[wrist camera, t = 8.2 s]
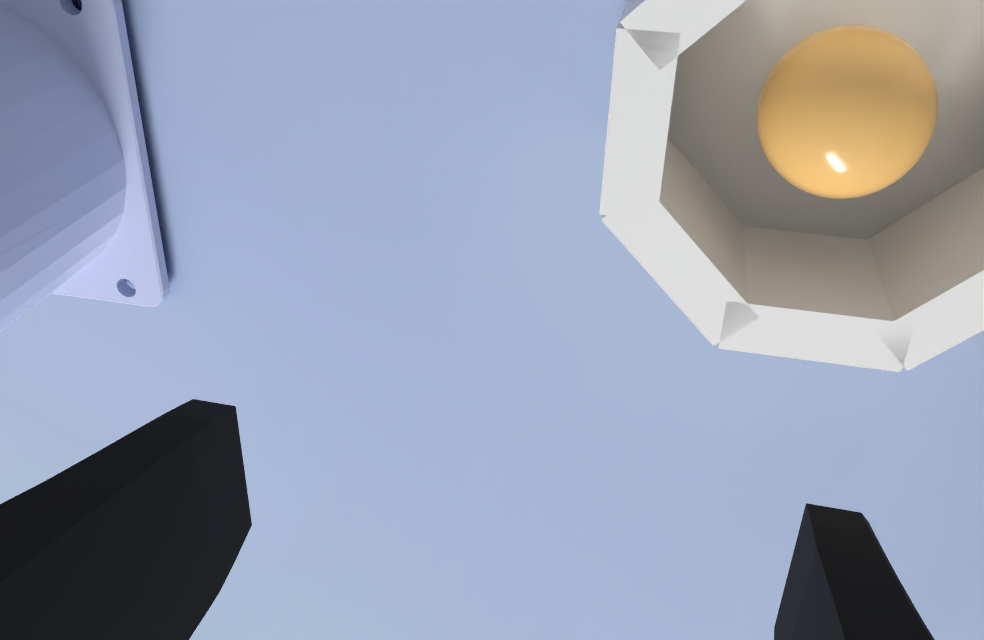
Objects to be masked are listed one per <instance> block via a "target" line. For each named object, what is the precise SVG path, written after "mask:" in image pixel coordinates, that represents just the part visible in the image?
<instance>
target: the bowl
mask: <svg viewBox="0 0 984 640" xmlns="http://www.w3.org/2000/svg"><path fill="white" fill-rule="evenodd" d="M600 215H602V219H601V220H602V221H603V222H604V223H605V225H606V226H607V227H608V228H609V229H610V230H611V231H612V232H613V234H614V235H615V236H616V237H617V238H618V239H619V240H620V241H621V243H622V244H623V245H624V246H625V247H626V248H627V249H628V250H629V252H630V253H631V254H632V255H633V256H634V257H635V258H636V260H637V261H638V262H639V263H640V264H641V265H642V266H643V267H644V269H645V270H646V271H647V272H648V273H649V274H650V275H651V276H652V278H653V279H654V280H655V281H656V282H657V283H658V284H659V285H660V287H661V288H662V289H663V290H664V291H665V292H666V293H667V294H668V296H669V297H670V298H671V299H672V300H673V301H674V302H675V303H676V305H677V306H678V307H679V308H680V309H681V310H682V311H683V312H684V314H685V315H686V316H687V317H688V318H689V319H690V320H691V321H692V323H693V324H694V325H695V326H696V327H697V328H698V329H699V330H700V332H701V333H702V334H703V335H704V336H705V337H706V338H707V339H708V341H709V342H710V343H711V344H712V345H713V346H714V345H716V344H717V343H718V349H726V350H734V351H741V352H749V353H757V354H764V355H772V356H780V357H788V358H795V359H803V360H811V361H818V362H826V363H834V364H842V365H849V366H857V367H865V368H872V369H880V370H888V371H895V372H901V371H902V367H903V366H904V368H905V369H906V370H907V371H908V370H910V369H912V368H914V367H916V366H918V365H920V364H921V363H923V362H925V361H927V360H929V359H931V358H933V357H934V356H936V355H938V354H940V353H942V352H944V351H946V350H948V349H949V348H951V347H953V346H955V345H957V344H959V343H961V342H962V341H964V340H966V339H968V338H970V337H972V336H974V335H975V334H977V333H979V332H981V331H983V330H984V0H628V2H627V4H626V7H625V9H624V12H623V14H622V16H621V19H620V21H619V24H618V26H617V29H616V40H615V51H614V62H613V73H612V83H611V94H610V105H609V116H608V127H607V138H606V149H605V159H604V170H603V181H602V192H601V203H600Z"/></svg>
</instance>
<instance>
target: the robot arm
mask: <svg viewBox="0 0 984 640" xmlns="http://www.w3.org/2000/svg"><path fill="white" fill-rule="evenodd" d="M81 2H82V11H80V10H78V9H77V8H76V7H75V6H74V5H73V3H72V1H71V0H0V332H1V331H2V330H4V329H5V328H6V327H8V326H9V325H10V324H11V323H13V322H14V321H15V320H17V319H18V318H19V317H21V316H22V315H23V314H24V313H26V312H27V311H28V310H30V309H31V308H32V307H34V306H35V305H36V304H38V303H39V302H40V301H41V300H43V299H44V298H45V297H47V296H48V295H49V294H59V295H66V296H73V297H81V298H88V299H95V300H103V301H110V302H117V303H125V304H132V305H139V306H147V307H152V306H157V305H158V304H160V303H161V302H162V301H163V300H164V299H166V297H167V296H168V294H169V281H168V275H167V269H166V263H165V257H164V251H163V245H162V240H161V234H160V228H159V222H158V216H157V210H156V204H155V198H154V192H153V186H152V180H151V174H150V168H149V162H148V156H147V150H146V144H145V138H144V132H143V126H142V120H141V114H140V108H139V102H138V96H137V90H136V84H135V78H134V72H133V66H132V60H131V54H130V48H129V42H128V36H127V30H126V24H125V18H124V12H123V6H122V2H121V0H81ZM125 279H127V280H129V281H131V282H132V283H133V284H134V286H135V288H136V290H135V289H132V288H130V287H129V286H128V285H127V283H126V281H125ZM251 525H252V523H251V516H250V508H249V501H248V494H247V487H246V479H245V472H244V465H243V457H242V450H241V443H240V436H239V428H238V421H237V414H236V407H235V406H230V405H224V404H219V403H213V402H207V401H201V400H195V399H193V400H191V401H189V402H187V403H185V404H182V405H180V406H178V407H177V408H175V409H173V410H171V411H169V412H167V413H165V414H163V415H162V416H160V417H158V418H156V419H154V420H153V421H151V422H149V423H147V424H146V425H144V426H142V427H140V428H138V429H137V430H135V431H133V432H131V433H130V434H128V435H126V436H124V437H123V438H121V439H119V440H117V441H116V442H114V443H112V444H110V445H109V446H107V447H105V448H103V449H102V450H100V451H98V452H96V453H95V454H93V455H91V456H89V457H87V458H86V459H84V460H82V461H80V462H78V463H77V464H75V465H73V466H71V467H70V468H68V469H66V470H64V471H62V472H61V473H59V474H57V475H55V476H54V477H52V478H50V479H48V480H46V481H44V482H43V483H41V484H39V485H37V486H35V487H33V488H31V489H29V490H27V491H25V492H23V493H21V494H19V495H17V496H15V497H14V498H12V499H10V500H8V501H6V502H4V503H2V504H0V640H189V639H190V637H191V636H192V634H193V632H194V631H195V629H196V628H197V626H198V625H199V623H200V622H201V620H202V619H203V617H204V616H205V614H206V612H207V611H208V609H209V608H210V606H211V605H212V603H213V601H214V600H215V598H216V597H217V595H218V594H219V592H220V590H221V588H222V586H223V584H224V582H225V580H226V578H227V576H228V574H229V572H230V570H231V568H232V566H233V564H234V562H235V560H236V558H237V556H238V554H239V551H240V549H241V547H242V545H243V543H244V541H245V538H246V536H247V534H248V532H249V530H250V528H251ZM774 640H934V638H933V636H932V635H931V633H930V632H929V630H928V628H927V627H926V625H925V623H924V622H923V620H922V618H921V617H920V615H919V613H918V612H917V610H916V608H915V607H914V605H913V603H912V601H911V600H910V598H909V596H908V594H907V593H906V591H905V589H904V587H903V586H902V584H901V582H900V580H899V579H898V577H897V575H896V573H895V571H894V569H893V568H892V566H891V564H890V562H889V560H888V558H887V557H886V555H885V553H884V551H883V549H882V547H881V545H880V543H879V541H878V540H877V538H876V536H875V534H874V532H873V530H872V528H871V526H870V524H869V522H868V521H867V520H866V518H865V517H864V516H863V514H862V513H859V512H853V511H848V510H842V509H836V508H830V507H824V506H818V505H812V504H806V506H805V510H804V514H803V518H802V522H801V526H800V530H799V534H798V538H797V541H796V545H795V549H794V553H793V557H792V561H791V565H790V569H789V573H788V576H787V580H786V584H785V588H784V592H783V596H782V600H781V604H780V608H779V612H778V615H777V619H776V623H775V629H774Z"/></svg>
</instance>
